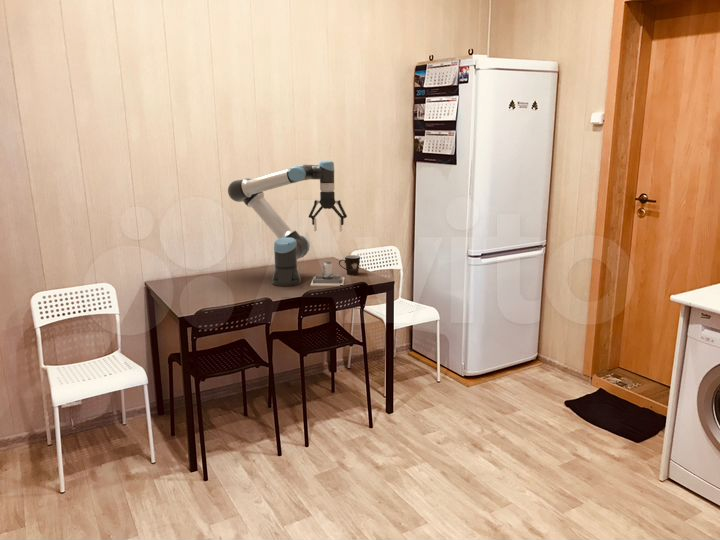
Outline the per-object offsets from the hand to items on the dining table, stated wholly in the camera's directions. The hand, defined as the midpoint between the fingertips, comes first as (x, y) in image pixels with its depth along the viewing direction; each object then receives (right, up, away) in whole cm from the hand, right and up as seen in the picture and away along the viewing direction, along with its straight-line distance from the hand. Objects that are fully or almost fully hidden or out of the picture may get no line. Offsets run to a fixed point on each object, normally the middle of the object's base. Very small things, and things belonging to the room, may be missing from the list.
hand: (328, 231), depth 305 cm
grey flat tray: (0, -27, +1) cm, 27 cm away
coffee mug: (+11, -23, +19) cm, 32 cm away
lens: (0, -27, +1) cm, 27 cm away
